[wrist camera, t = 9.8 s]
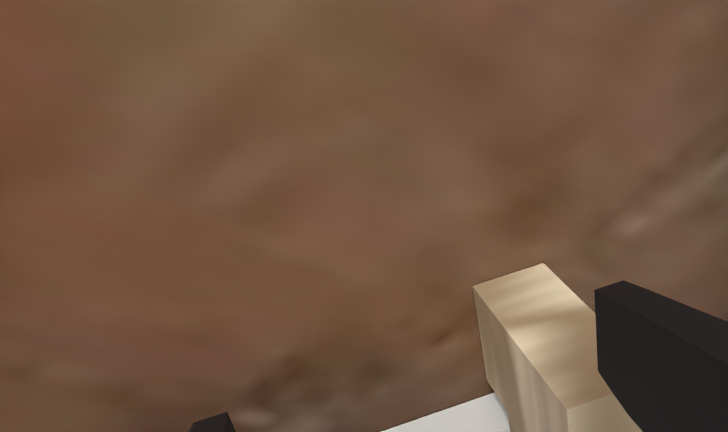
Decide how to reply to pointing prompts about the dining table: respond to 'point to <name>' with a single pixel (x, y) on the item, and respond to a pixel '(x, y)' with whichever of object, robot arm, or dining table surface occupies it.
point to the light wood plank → (544, 355)
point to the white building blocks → (463, 418)
